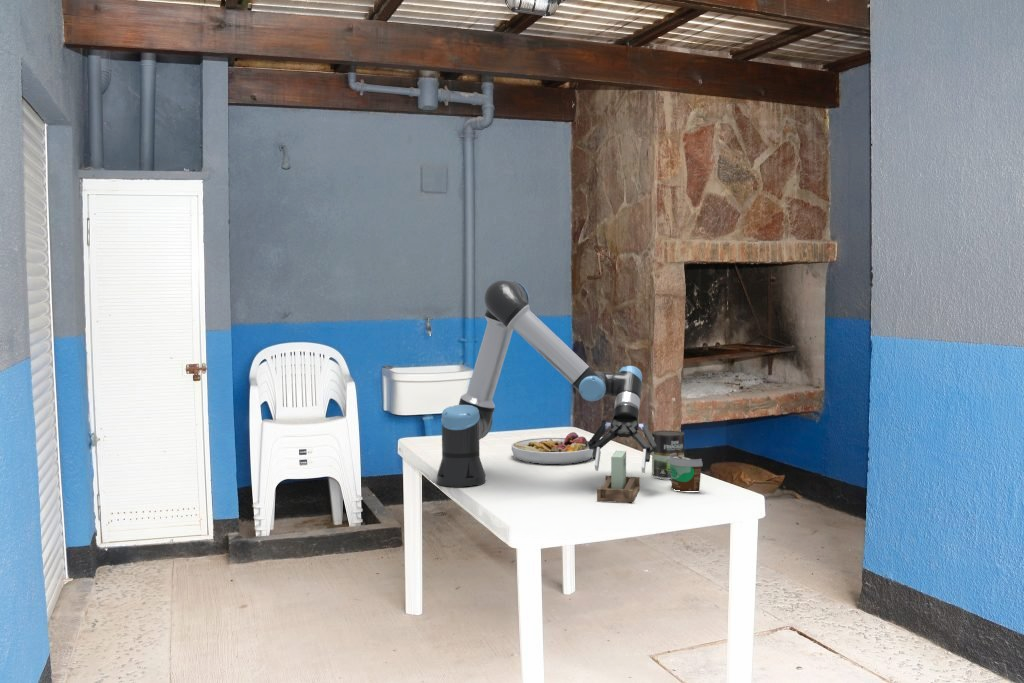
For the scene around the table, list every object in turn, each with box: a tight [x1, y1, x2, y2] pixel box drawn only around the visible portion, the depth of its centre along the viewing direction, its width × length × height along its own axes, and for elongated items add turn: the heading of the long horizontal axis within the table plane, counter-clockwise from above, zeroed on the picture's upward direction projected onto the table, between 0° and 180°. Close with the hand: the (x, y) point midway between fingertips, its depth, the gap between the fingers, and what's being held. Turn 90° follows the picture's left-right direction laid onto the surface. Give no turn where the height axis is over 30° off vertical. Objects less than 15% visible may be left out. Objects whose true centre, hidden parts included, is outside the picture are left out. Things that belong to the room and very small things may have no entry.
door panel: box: [610, 450, 627, 489], centre depth 247 cm, size 3×10×11 cm, turn 165°
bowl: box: [511, 431, 593, 465], centre depth 304 cm, size 30×30×8 cm
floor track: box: [596, 475, 641, 503], centre depth 247 cm, size 10×18×4 cm, turn 165°
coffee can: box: [651, 429, 686, 480], centre depth 271 cm, size 10×10×14 cm
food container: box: [668, 453, 704, 492], centre depth 252 cm, size 12×6×10 cm, turn 29°
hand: (619, 469), depth 247 cm, fingers open, 13 cm apart
